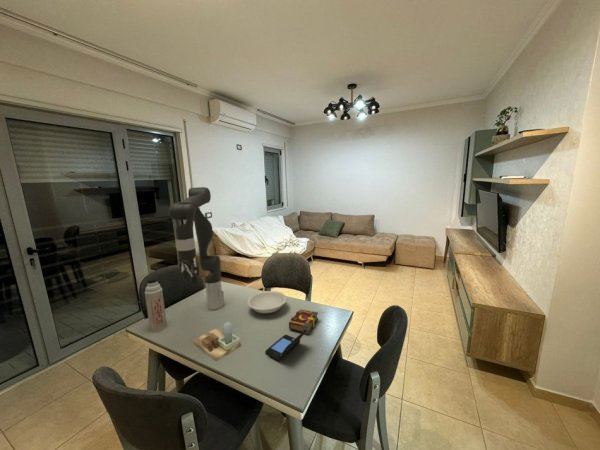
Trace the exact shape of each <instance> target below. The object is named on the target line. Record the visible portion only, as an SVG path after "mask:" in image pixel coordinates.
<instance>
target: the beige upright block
mask: <svg viewBox="0 0 600 450" xmlns="http://www.w3.org/2000/svg"><path fill="white" fill-rule="evenodd" d="M214 339H218V340H219V337H218V336H216V335H215V334H211V335H209V336H207V337H205V338H204V339H202V346H204V347H205V348H206V349H208V343H209V342H212V344H213V340H214ZM213 346H214V345H213Z"/></svg>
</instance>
